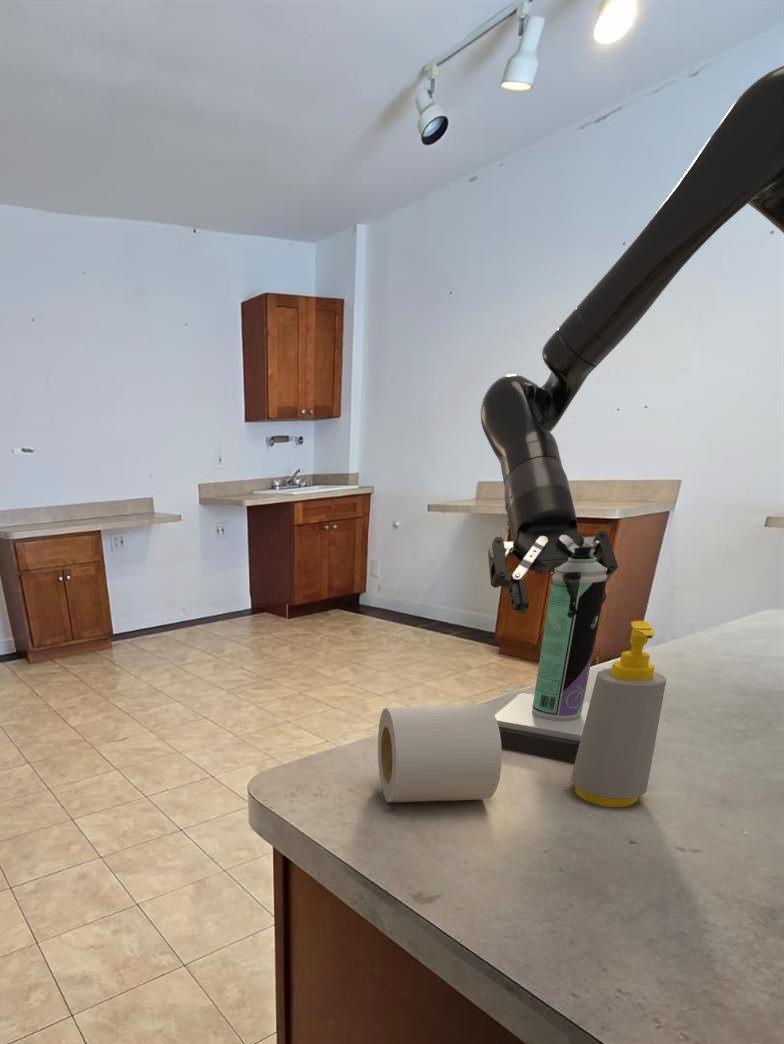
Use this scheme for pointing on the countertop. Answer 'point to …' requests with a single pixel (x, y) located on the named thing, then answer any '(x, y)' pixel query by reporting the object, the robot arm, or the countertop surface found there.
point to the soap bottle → (620, 728)
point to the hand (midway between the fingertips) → (559, 609)
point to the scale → (538, 730)
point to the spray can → (569, 636)
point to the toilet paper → (439, 753)
